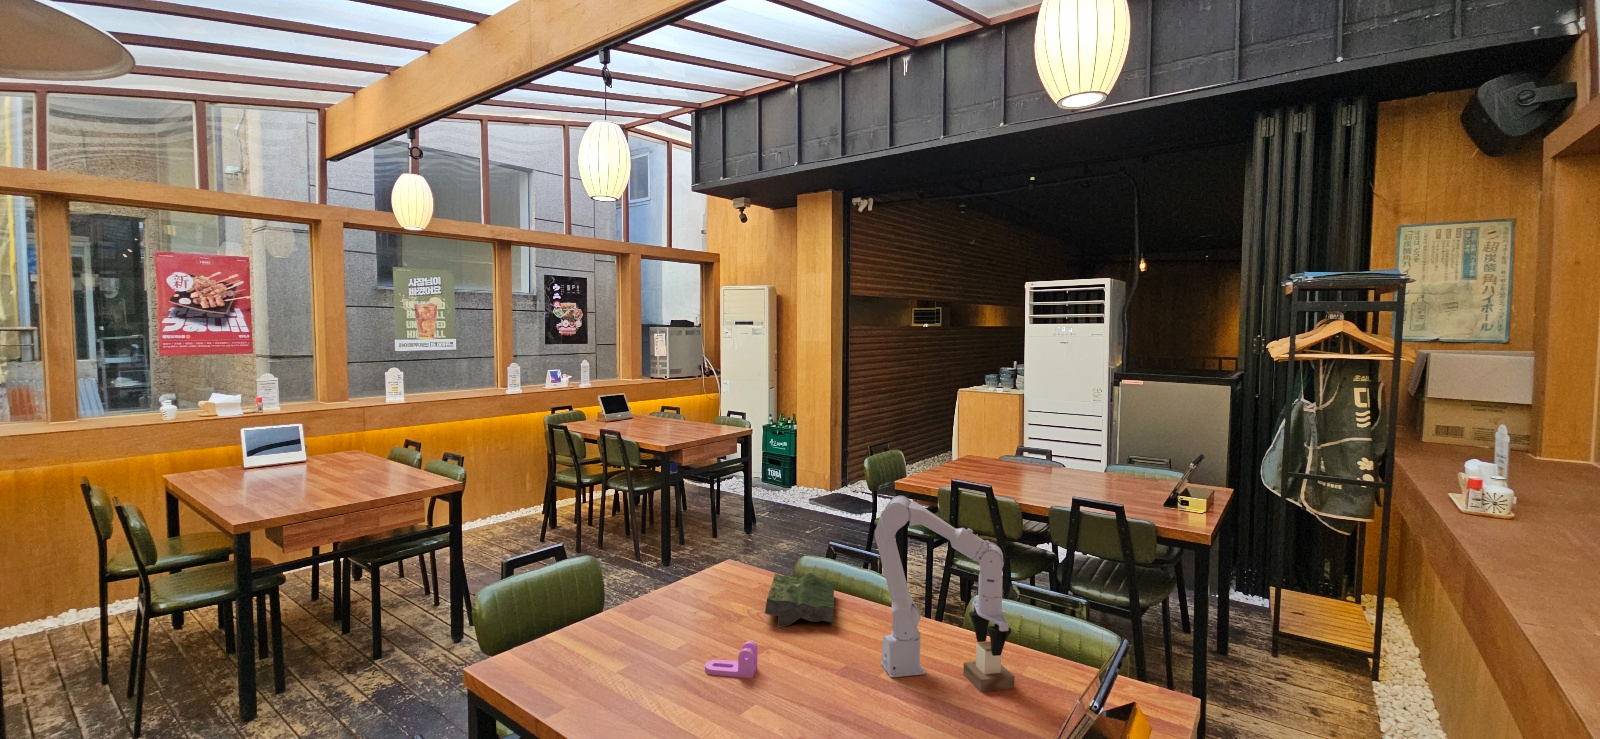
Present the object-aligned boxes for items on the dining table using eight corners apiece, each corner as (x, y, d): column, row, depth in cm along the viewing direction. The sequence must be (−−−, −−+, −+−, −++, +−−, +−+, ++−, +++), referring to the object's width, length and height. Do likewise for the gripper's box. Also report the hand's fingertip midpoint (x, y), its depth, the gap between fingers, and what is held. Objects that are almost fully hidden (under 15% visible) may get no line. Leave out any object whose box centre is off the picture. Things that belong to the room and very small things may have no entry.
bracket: (757, 668, 169) (757, 641, 169) (752, 678, 163) (752, 651, 163) (708, 664, 171) (708, 637, 171) (702, 674, 165) (702, 647, 165)
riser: (980, 691, 158) (980, 679, 158) (963, 674, 167) (963, 662, 167) (1014, 688, 160) (1014, 676, 160) (995, 671, 169) (995, 659, 169)
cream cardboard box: (984, 674, 161) (985, 649, 161) (975, 666, 165) (976, 642, 165) (1000, 672, 162) (1001, 648, 162) (991, 664, 166) (992, 640, 166)
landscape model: (831, 633, 194) (835, 599, 194) (763, 624, 195) (767, 591, 196) (832, 605, 220) (835, 575, 220) (772, 598, 221) (775, 568, 222)
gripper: (1020, 603, 157) (1019, 659, 157) (990, 583, 171) (988, 634, 171) (993, 605, 155) (992, 662, 156) (965, 584, 170) (964, 636, 170)
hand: (988, 648), depth 164 cm, fingers open, 7 cm apart
